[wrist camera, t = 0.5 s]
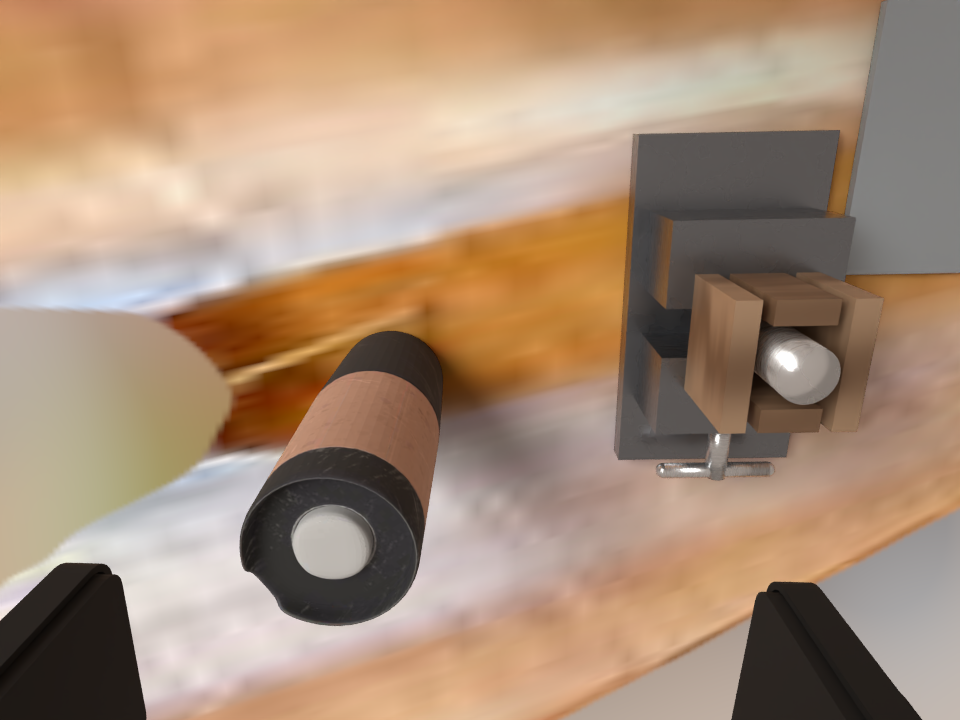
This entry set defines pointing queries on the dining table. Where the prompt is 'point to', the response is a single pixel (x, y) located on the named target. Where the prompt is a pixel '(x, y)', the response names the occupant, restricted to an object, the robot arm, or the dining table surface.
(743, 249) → the vise
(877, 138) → the mat
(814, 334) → the collar
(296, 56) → the dining table surface
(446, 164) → the dining table surface
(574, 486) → the dining table surface
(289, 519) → the travel mug
